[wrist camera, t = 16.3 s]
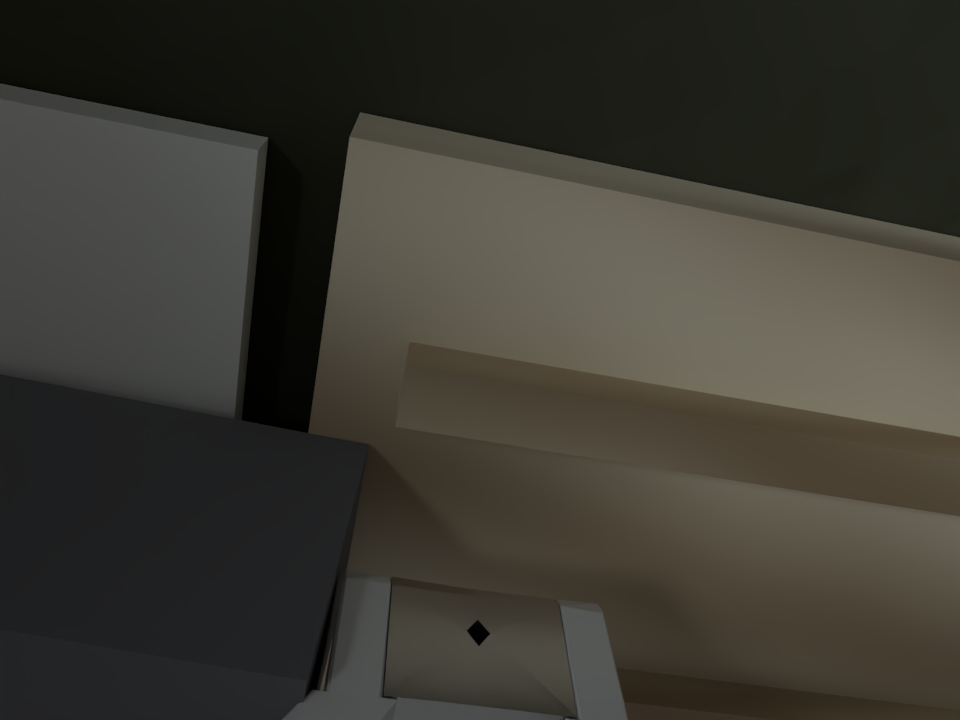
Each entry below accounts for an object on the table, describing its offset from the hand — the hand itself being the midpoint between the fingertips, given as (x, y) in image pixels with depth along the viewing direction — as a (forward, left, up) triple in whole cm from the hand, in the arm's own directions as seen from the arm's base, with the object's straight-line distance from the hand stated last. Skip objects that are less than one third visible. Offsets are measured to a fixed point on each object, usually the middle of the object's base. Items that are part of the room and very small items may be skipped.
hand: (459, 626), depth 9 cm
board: (0, +5, -3) cm, 6 cm away
